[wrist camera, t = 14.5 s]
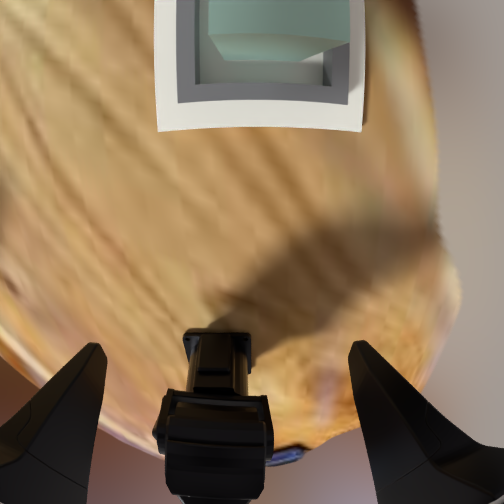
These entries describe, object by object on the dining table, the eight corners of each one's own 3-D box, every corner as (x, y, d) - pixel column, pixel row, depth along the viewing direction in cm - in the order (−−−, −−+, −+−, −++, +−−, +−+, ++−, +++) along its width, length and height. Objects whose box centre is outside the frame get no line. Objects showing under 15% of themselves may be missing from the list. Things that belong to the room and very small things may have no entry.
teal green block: (298, 61, 15) (350, 42, 7) (224, 60, 15) (208, 34, 7) (298, -1, 12) (344, -60, 5) (224, -3, 12) (211, -69, 5)
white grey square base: (356, 130, 18) (373, 137, 15) (161, 129, 17) (149, 137, 15) (357, -36, 11) (372, -49, 9) (160, -41, 11) (149, -56, 8)
